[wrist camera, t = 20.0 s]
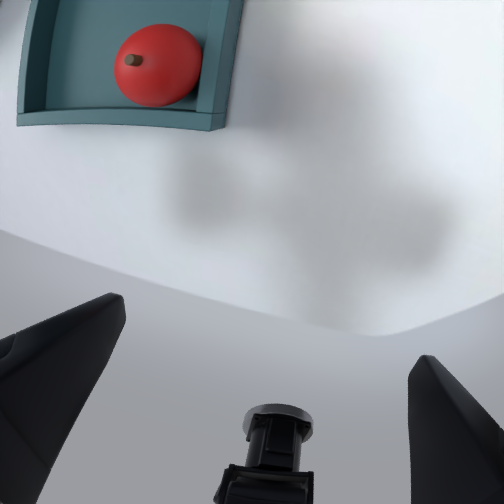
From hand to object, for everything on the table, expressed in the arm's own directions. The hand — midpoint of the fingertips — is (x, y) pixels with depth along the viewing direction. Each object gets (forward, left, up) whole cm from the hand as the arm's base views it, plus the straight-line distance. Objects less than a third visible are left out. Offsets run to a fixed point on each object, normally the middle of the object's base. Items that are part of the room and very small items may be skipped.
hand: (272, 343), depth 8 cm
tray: (+25, +13, -13) cm, 31 cm away
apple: (+8, +9, -12) cm, 17 cm away
